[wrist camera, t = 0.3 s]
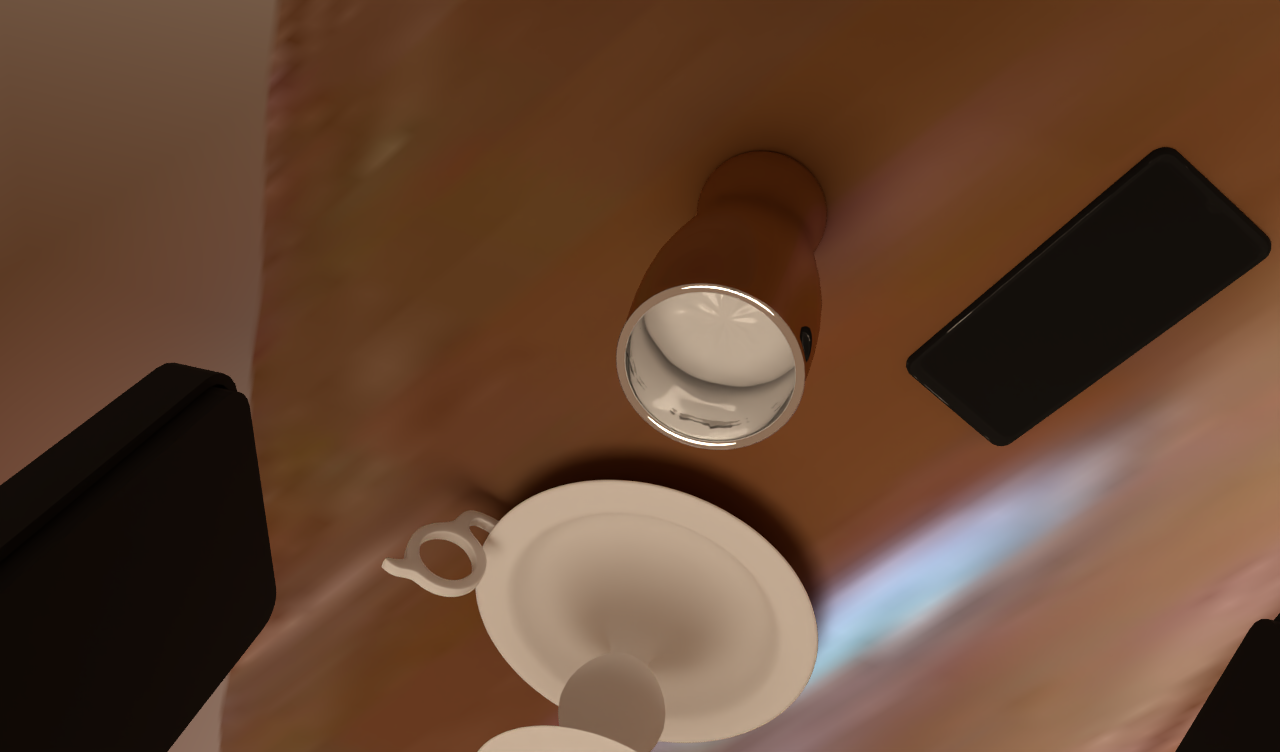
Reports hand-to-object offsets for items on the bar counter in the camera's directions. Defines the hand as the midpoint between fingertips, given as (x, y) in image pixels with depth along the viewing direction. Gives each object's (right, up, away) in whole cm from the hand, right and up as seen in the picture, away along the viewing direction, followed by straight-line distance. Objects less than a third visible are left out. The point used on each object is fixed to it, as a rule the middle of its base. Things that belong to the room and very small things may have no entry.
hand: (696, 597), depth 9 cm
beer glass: (+5, +10, +36) cm, 38 cm away
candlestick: (-2, -10, +50) cm, 51 cm away
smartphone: (+20, +5, +35) cm, 41 cm away
